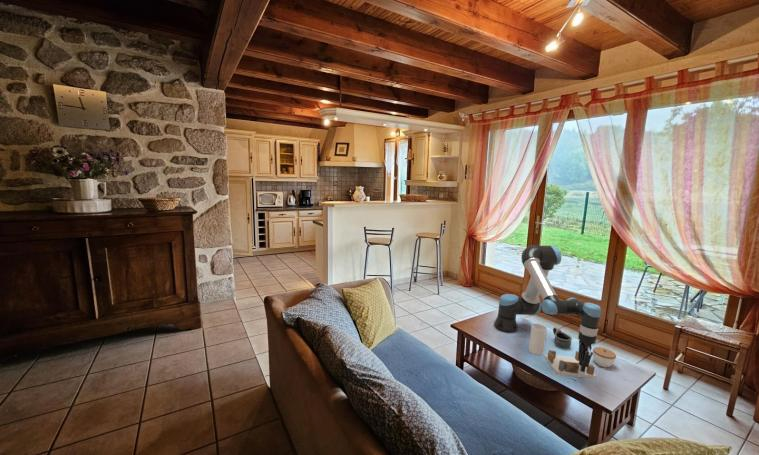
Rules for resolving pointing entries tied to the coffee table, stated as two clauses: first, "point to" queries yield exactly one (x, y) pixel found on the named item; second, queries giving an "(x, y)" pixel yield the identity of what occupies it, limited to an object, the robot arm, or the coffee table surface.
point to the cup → (537, 339)
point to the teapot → (561, 338)
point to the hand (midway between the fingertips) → (580, 375)
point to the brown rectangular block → (571, 367)
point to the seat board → (559, 364)
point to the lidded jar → (603, 357)
